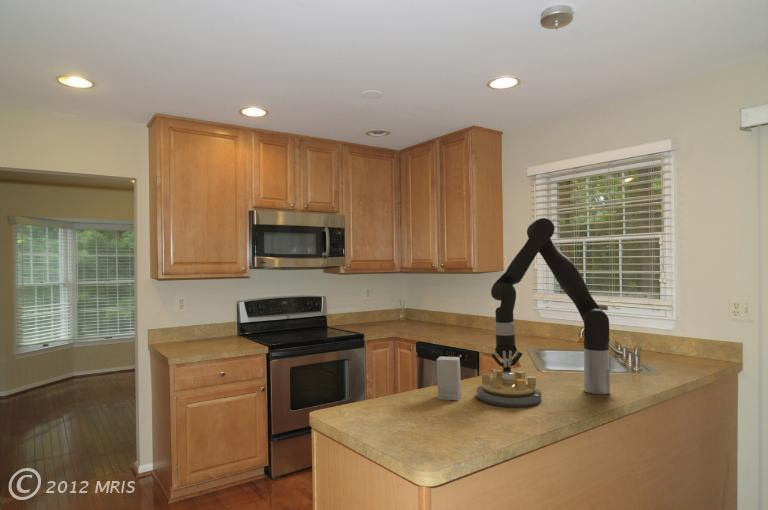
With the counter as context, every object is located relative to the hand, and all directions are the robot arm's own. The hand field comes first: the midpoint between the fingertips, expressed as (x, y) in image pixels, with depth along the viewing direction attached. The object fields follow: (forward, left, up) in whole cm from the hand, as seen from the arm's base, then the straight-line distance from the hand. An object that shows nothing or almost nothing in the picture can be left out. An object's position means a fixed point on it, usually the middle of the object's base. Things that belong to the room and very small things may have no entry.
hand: (507, 376), depth 200 cm
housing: (-1, +8, -7) cm, 11 cm away
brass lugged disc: (-1, +8, -3) cm, 9 cm away
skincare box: (+21, +14, -7) cm, 26 cm away
